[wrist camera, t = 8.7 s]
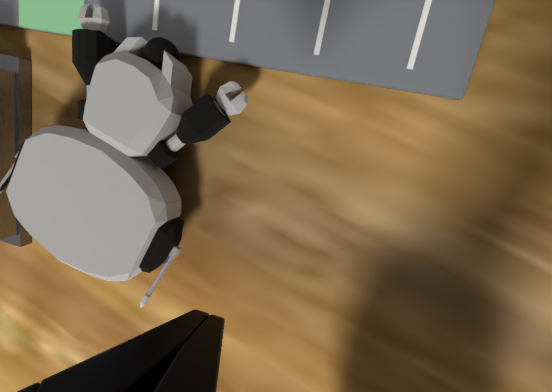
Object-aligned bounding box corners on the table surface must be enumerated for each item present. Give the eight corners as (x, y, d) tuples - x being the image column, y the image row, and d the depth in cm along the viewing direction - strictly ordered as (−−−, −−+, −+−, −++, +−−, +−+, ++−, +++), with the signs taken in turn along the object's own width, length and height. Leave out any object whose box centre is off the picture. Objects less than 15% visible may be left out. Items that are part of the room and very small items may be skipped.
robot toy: (116, 16, 19) (41, 202, 21) (53, -30, 14) (-32, 213, 17) (271, 103, 18) (172, 287, 20) (255, 84, 13) (131, 322, 16)
